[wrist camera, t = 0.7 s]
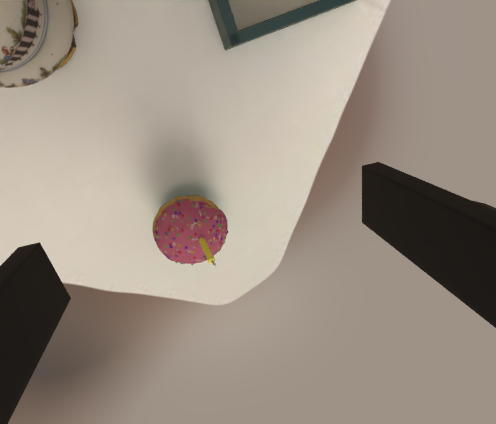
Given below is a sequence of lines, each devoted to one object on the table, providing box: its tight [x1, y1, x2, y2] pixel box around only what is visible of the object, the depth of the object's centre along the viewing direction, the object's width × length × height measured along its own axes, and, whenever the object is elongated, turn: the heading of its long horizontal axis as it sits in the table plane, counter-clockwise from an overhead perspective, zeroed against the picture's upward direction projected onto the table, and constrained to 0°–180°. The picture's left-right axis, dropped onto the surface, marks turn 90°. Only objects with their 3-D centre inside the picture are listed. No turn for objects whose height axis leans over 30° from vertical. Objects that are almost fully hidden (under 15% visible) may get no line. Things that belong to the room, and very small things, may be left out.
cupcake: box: [153, 196, 228, 265], centre depth 34 cm, size 9×8×12 cm
